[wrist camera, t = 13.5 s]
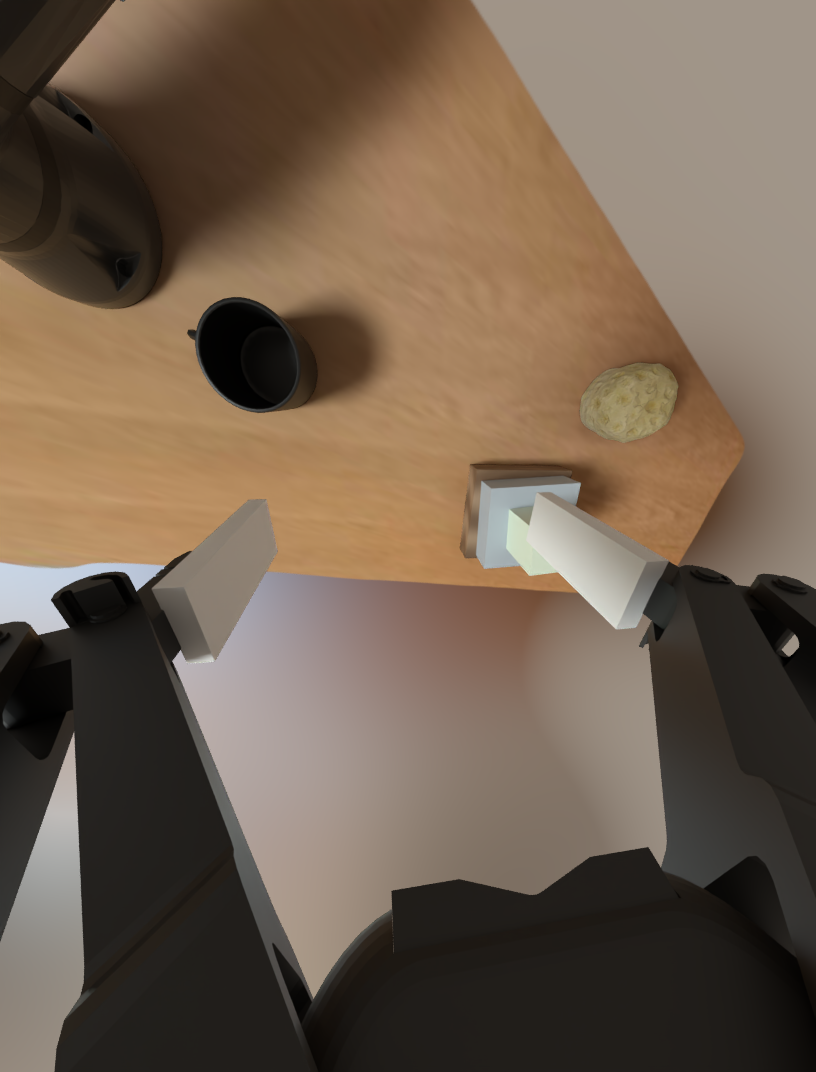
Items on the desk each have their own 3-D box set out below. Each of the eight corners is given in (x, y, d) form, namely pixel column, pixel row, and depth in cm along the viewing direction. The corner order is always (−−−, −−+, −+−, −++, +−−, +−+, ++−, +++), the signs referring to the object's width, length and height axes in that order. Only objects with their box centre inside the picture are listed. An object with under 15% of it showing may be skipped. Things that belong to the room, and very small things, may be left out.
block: (509, 509, 39) (534, 530, 32) (552, 504, 39) (586, 524, 33) (506, 548, 41) (529, 575, 35) (547, 543, 41) (577, 569, 35)
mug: (219, 294, 32) (165, 258, 24) (326, 343, 35) (311, 326, 27) (209, 383, 36) (159, 379, 27) (308, 421, 38) (289, 427, 30)
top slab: (481, 480, 41) (491, 488, 37) (563, 475, 42) (580, 482, 38) (476, 555, 46) (484, 568, 42) (548, 549, 47) (563, 562, 43)
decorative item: (560, 414, 45) (588, 463, 40) (595, 348, 36) (636, 402, 32) (618, 406, 45) (653, 454, 41) (667, 340, 37) (718, 391, 32)
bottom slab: (468, 463, 44) (477, 469, 40) (556, 465, 45) (572, 470, 41) (458, 546, 50) (465, 558, 46) (536, 545, 51) (548, 556, 47)
